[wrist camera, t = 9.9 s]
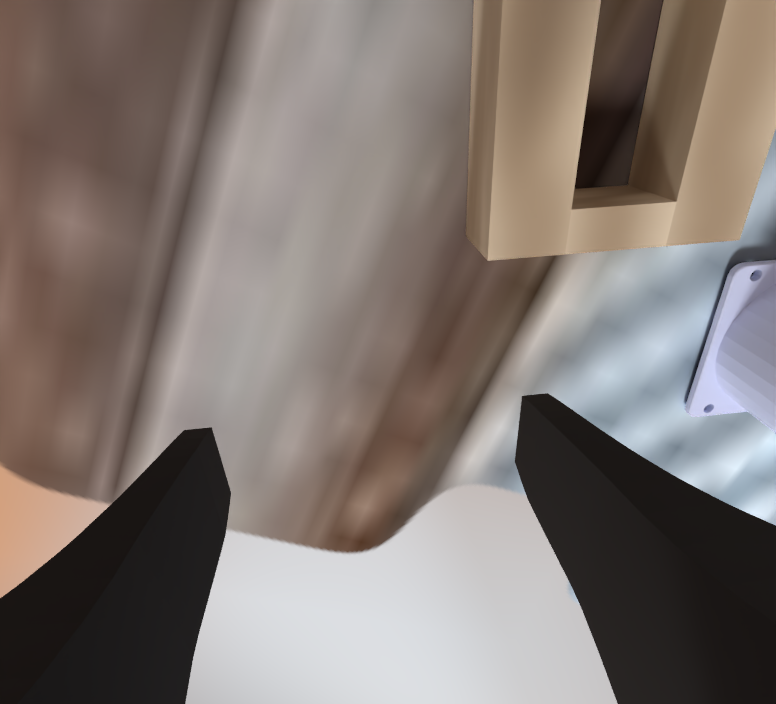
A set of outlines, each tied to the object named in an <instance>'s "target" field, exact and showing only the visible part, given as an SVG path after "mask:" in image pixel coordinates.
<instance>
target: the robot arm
mask: <svg viewBox="0 0 776 704" xmlns="http://www.w3.org/2000/svg"><path fill="white" fill-rule="evenodd" d="M754 271H755V273H754V274H753V275H752V276H751V274H752V273H753V272H754ZM750 276H751V277H750ZM685 410H686V412H687V413H688V414H689V415H690V416H692V417H701V416H710V415H719V414H729V413H738V412H747V411H748V412H749V413H750V414H752V415H753V416H754V417H755V418H757V419H758V420H759V421H761V422H762V423H763V424H764V425H766V426H767V427H768V428H769V429H771V430H772V431H773V432H775V433H776V260H766V261H755V262H743V263H739V264H737V265H735V266H734V267H733V268H732V269H731V270H730V272H729V274H728V276H727V279H726V282H725V286H724V289H723V292H722V295H721V298H720V301H719V304H718V307H717V310H716V313H715V316H714V319H713V323H712V326H711V329H710V332H709V335H708V338H707V341H706V344H705V347H704V350H703V353H702V356H701V360H700V363H699V366H698V369H697V372H696V375H695V378H694V381H693V384H692V387H691V390H690V393H689V397H688V400H687V403H686V406H685ZM515 463H516V466H517V469H518V472H519V475H520V478H521V481H522V484H523V487H524V489H525V492H526V495H527V498H528V500H529V502H530V504H531V506H532V509H533V511H534V513H535V514H536V517H537V519H538V521H539V523H540V524H541V527H542V528H543V531H544V533H545V535H546V537H547V538H548V540H549V543H550V544H551V546H552V548H553V550H554V552H555V554H556V556H557V558H558V560H559V562H560V564H561V566H562V568H563V570H564V572H565V574H566V576H567V578H568V580H569V582H570V584H571V586H572V588H573V590H574V592H575V595H576V597H577V599H578V601H579V603H580V606H581V608H582V610H583V613H584V615H585V618H586V621H587V623H588V626H589V628H590V631H591V633H592V636H593V638H594V641H595V643H596V646H597V648H598V651H599V654H600V657H601V659H602V662H603V665H604V667H605V670H606V673H607V676H608V678H609V681H610V684H611V686H612V689H613V692H614V694H615V697H616V700H617V703H618V704H776V526H775V525H773V524H771V523H768V522H766V521H764V520H762V519H759V518H757V517H755V516H753V515H750V514H748V513H746V512H744V511H742V510H739V509H737V508H735V507H733V506H731V505H729V504H727V503H725V502H723V501H721V500H719V499H717V498H715V497H713V496H711V495H709V494H707V493H705V492H703V491H701V490H700V489H698V488H696V487H694V486H692V485H690V484H688V483H686V482H684V481H682V480H681V479H679V478H677V477H675V476H673V475H672V474H670V473H668V472H667V471H665V470H663V469H662V468H660V467H658V466H657V465H655V464H653V463H652V462H650V461H648V460H647V459H645V458H643V457H642V456H640V455H638V454H637V453H635V452H634V451H632V450H630V449H629V448H627V447H626V446H624V445H623V444H621V443H620V442H618V441H617V440H615V439H614V438H612V437H611V436H609V435H608V434H606V433H605V432H603V431H602V430H600V429H599V428H597V427H596V426H594V425H593V424H592V423H590V422H589V421H587V420H586V419H584V418H583V417H582V416H580V415H579V414H577V413H576V412H574V411H573V410H572V409H570V408H569V407H567V406H566V405H564V404H563V403H561V402H560V401H558V400H557V399H555V398H554V397H552V396H551V395H549V394H548V393H547V394H537V395H527V396H522V403H521V412H520V421H519V430H518V439H517V448H516V457H515ZM230 497H231V491H230V488H229V485H228V481H227V478H226V475H225V471H224V468H223V464H222V461H221V458H220V454H219V451H218V448H217V444H216V441H215V437H214V434H213V431H212V427H211V428H202V429H192V430H184V431H183V432H182V433H181V434H180V435H179V436H178V437H177V438H176V439H175V440H174V441H173V442H172V443H171V444H170V445H169V446H168V447H167V448H166V449H165V450H164V451H163V452H162V453H161V454H160V456H159V457H158V458H157V459H156V460H155V461H154V462H153V463H152V464H151V465H150V466H149V467H148V468H147V469H146V470H145V471H144V472H143V473H142V474H141V475H140V476H139V477H138V478H137V479H136V480H135V481H134V482H133V483H132V484H131V485H130V487H129V488H128V489H127V490H126V491H125V492H124V493H123V494H122V495H121V496H120V497H119V498H118V499H117V500H115V501H114V502H113V503H112V504H111V505H110V506H109V507H108V508H107V509H106V510H105V511H104V512H103V513H102V514H101V515H100V516H99V517H97V518H96V519H95V520H94V521H93V522H92V523H91V524H90V525H89V526H88V527H87V528H86V529H85V530H84V531H83V532H82V533H80V534H79V535H78V536H77V537H76V538H75V539H74V540H73V541H71V542H70V543H69V544H68V545H67V546H66V547H65V548H63V549H62V550H61V551H60V552H59V553H57V554H56V555H55V556H54V557H53V558H51V559H50V560H49V561H48V562H47V563H45V564H44V565H43V566H42V567H40V568H39V569H38V570H37V571H35V572H34V573H33V574H32V575H30V576H29V577H28V578H27V579H26V580H25V581H23V582H22V583H20V584H19V585H18V586H17V587H15V588H14V589H13V590H11V591H10V592H9V593H7V594H6V595H4V596H3V597H2V598H0V704H185V701H186V695H187V689H188V684H189V678H190V672H191V667H192V661H193V656H194V651H195V647H196V643H197V638H198V634H199V631H200V627H201V623H202V619H203V616H204V612H205V609H206V605H207V601H208V598H209V594H210V590H211V587H212V583H213V579H214V576H215V572H216V568H217V565H218V561H219V557H220V553H221V550H222V545H223V542H224V538H225V533H226V527H227V520H228V513H229V505H230Z"/></svg>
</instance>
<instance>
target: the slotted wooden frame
mask: <svg viewBox="0 0 776 704" xmlns="http://www.w3.org/2000/svg"><path fill="white" fill-rule="evenodd" d="M600 3H601V0H474V7H473V37H472V67H471V97H470V127H469V157H468V187H467V217H466V237H467V238H468V239H469V240H470V241H471V242H472V244H473V245H474V246H475V247H476V248H477V249H478V250H479V251H480V253H481V254H482V255H483V256H484V257H485V258H486V259H487V260H488V261H489V260H501V259H514V258H526V257H538V256H550V255H563V254H575V253H587V252H599V251H611V250H624V249H636V248H648V247H660V246H672V245H685V244H697V243H709V242H721V241H733V240H740V237H741V234H742V230H743V227H744V224H745V221H746V218H747V215H748V212H749V209H750V206H751V203H752V200H753V197H754V193H755V190H756V187H757V184H758V181H759V178H760V175H761V172H762V169H763V166H764V163H765V160H766V156H767V153H768V150H769V147H770V144H771V141H772V138H773V135H774V132H775V129H776V0H663V6H662V11H661V16H660V21H659V26H658V31H657V36H656V42H655V47H654V52H653V57H652V62H651V67H650V72H649V78H648V83H647V88H646V93H645V98H644V103H643V109H642V114H641V119H640V124H639V129H638V134H637V139H636V145H635V150H634V155H633V160H632V165H631V170H630V175H629V181H628V185H622V186H608V187H595V188H581V189H574V187H575V180H576V173H577V166H578V159H579V152H580V145H581V138H582V131H583V124H584V117H585V110H586V102H587V95H588V88H589V81H590V74H591V67H592V60H593V53H594V46H595V39H596V32H597V25H598V17H599V10H600Z"/></svg>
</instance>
